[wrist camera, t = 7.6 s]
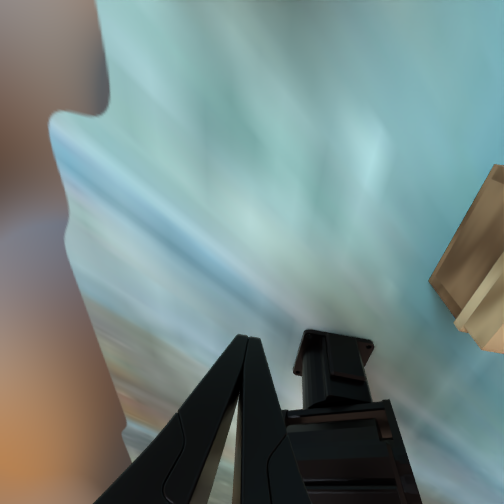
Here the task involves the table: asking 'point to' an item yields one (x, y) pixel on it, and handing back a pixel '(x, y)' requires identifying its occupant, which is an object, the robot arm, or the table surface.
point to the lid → (486, 311)
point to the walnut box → (473, 246)
